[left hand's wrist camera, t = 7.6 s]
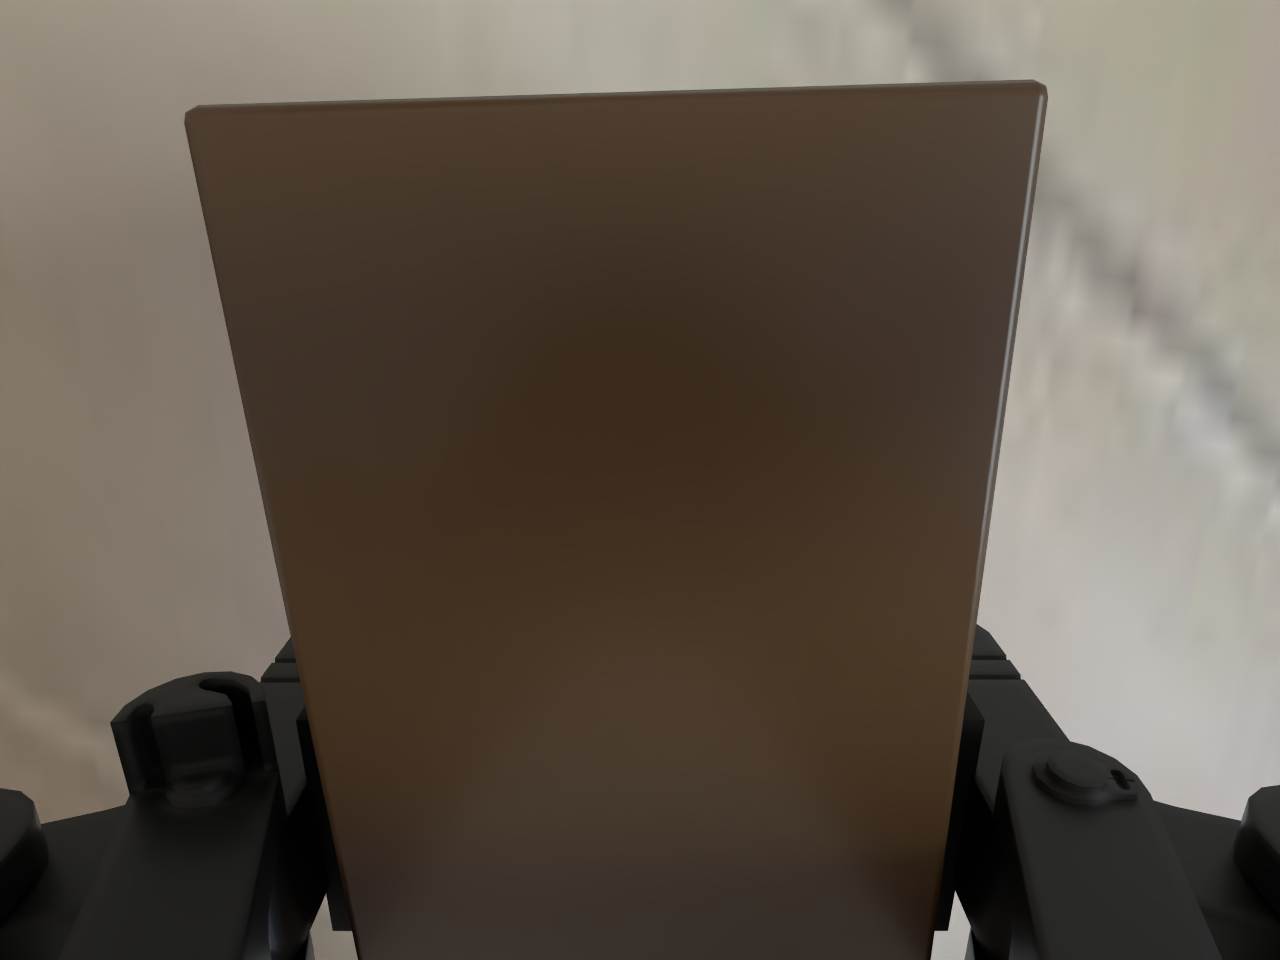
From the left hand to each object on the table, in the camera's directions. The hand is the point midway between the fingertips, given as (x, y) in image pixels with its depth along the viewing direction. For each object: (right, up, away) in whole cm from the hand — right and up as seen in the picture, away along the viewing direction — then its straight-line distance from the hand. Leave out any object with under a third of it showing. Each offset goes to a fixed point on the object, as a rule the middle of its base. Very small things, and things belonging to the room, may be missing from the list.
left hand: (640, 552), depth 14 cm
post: (+1, -26, +11) cm, 28 cm away
